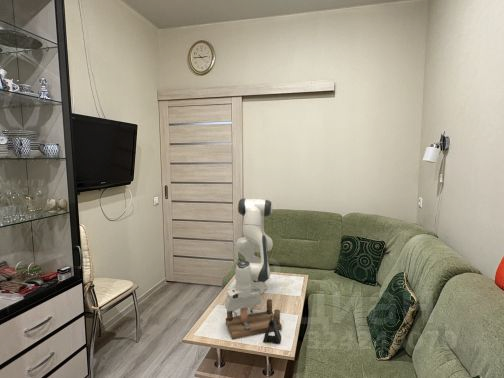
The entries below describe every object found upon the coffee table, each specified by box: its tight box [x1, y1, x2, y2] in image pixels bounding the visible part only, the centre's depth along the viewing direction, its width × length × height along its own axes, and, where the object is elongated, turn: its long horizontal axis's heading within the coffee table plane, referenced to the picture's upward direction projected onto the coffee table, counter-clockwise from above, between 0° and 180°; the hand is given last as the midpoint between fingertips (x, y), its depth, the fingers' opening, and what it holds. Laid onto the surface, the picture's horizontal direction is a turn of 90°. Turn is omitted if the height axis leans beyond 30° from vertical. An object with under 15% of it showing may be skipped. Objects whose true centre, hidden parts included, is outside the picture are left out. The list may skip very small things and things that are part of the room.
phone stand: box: [262, 316, 282, 345], centre depth 158 cm, size 9×6×12 cm, turn 79°
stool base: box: [225, 299, 283, 340], centre depth 171 cm, size 16×28×10 cm, turn 107°
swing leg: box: [239, 307, 250, 330], centre depth 167 cm, size 10×4×8 cm, turn 17°
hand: (243, 314), depth 169 cm, fingers open, 8 cm apart
